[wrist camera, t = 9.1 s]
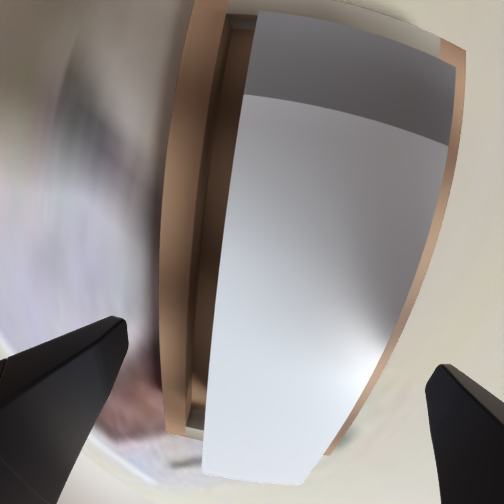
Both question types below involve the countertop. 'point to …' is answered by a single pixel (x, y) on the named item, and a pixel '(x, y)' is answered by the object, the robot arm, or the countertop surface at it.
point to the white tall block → (318, 236)
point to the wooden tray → (219, 176)
